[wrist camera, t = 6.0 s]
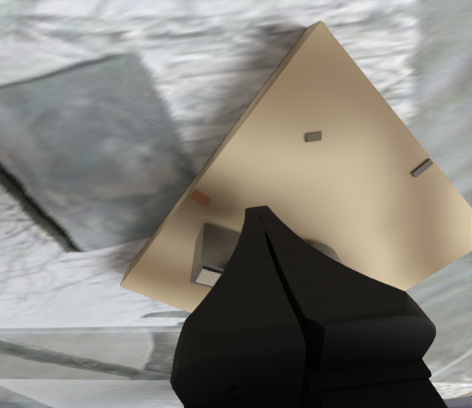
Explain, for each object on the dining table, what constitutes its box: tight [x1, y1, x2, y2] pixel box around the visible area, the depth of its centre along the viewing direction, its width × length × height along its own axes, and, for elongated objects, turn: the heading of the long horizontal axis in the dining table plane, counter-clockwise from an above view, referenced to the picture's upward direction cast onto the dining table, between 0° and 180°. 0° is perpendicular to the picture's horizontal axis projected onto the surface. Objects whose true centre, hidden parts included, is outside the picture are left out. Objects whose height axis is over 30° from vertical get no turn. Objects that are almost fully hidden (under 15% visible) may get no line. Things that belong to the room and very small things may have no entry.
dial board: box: [120, 21, 472, 313], centre depth 15 cm, size 18×18×2 cm
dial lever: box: [190, 222, 344, 288], centre depth 12 cm, size 10×4×3 cm, turn 65°
